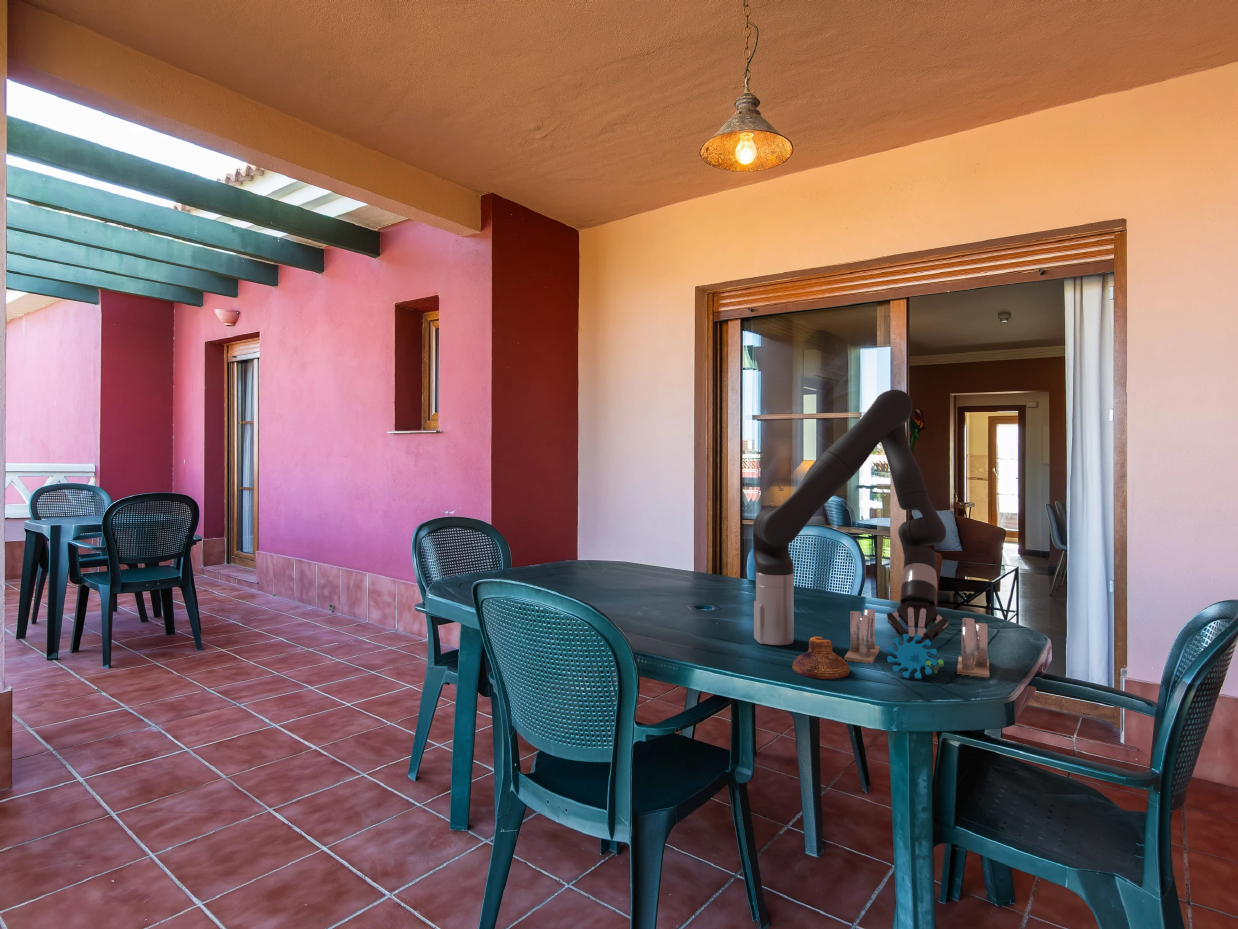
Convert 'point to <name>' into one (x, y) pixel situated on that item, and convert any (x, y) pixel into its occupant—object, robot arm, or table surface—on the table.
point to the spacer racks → (976, 672)
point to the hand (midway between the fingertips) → (915, 655)
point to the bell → (820, 661)
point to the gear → (914, 657)
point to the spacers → (971, 638)
